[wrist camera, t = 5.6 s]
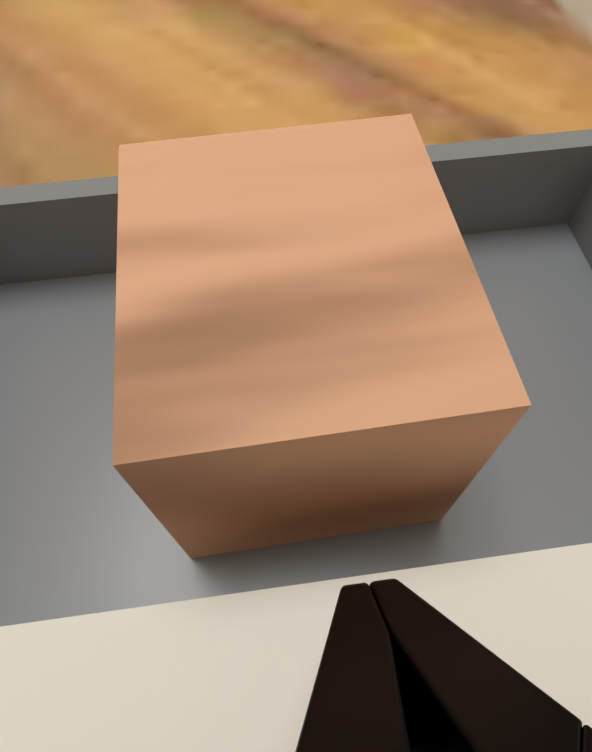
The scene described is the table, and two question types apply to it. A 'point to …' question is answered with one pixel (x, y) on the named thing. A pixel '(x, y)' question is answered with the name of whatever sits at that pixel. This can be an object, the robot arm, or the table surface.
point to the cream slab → (270, 657)
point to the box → (311, 557)
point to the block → (299, 336)
